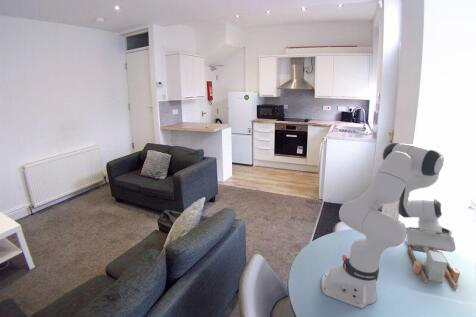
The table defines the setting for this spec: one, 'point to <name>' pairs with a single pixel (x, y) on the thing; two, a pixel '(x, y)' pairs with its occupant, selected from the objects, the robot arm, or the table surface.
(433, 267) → the small box
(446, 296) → the table surface
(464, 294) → the table surface
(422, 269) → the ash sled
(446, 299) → the table surface
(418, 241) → the robot arm
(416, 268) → the posts
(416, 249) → the dark grey tray
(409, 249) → the walnut channel
